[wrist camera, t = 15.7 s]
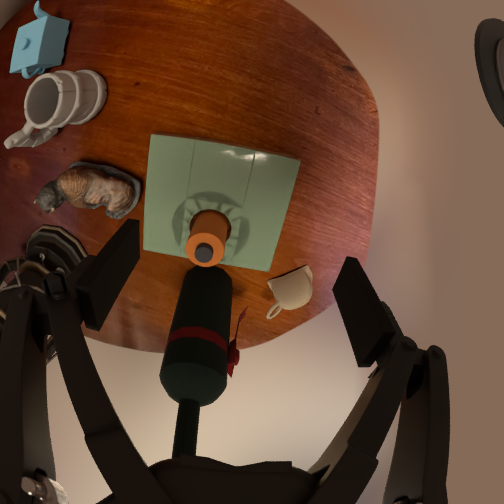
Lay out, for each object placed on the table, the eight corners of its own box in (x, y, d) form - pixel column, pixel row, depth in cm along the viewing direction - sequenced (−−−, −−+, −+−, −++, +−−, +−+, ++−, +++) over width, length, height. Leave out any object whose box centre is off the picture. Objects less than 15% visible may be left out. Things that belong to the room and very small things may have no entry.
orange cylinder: (231, 208, 36) (226, 241, 28) (225, 237, 38) (220, 275, 31) (198, 203, 36) (185, 233, 28) (194, 232, 38) (182, 268, 30)
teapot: (49, 13, 18) (19, 7, 11) (78, 3, 18) (49, -8, 12) (35, 80, 24) (3, 84, 17) (63, 74, 24) (30, 74, 18)
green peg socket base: (297, 157, 33) (301, 160, 30) (267, 263, 41) (268, 272, 38) (157, 132, 30) (151, 134, 28) (148, 242, 38) (143, 250, 36)
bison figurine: (148, 169, 33) (116, 194, 24) (140, 216, 36) (111, 252, 27) (76, 153, 31) (33, 173, 22) (72, 197, 34) (34, 227, 25)
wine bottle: (242, 308, 45) (242, 492, 19) (182, 299, 44) (144, 480, 18) (251, 271, 41) (259, 482, 15) (184, 260, 40) (130, 466, 14)
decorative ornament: (315, 283, 43) (323, 305, 38) (267, 300, 44) (269, 324, 40) (308, 264, 41) (315, 285, 36) (257, 283, 42) (259, 306, 38)
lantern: (110, 247, 39) (11, 414, 13) (103, 312, 46) (45, 450, 20) (22, 208, 34) (-90, 317, 8) (26, 274, 41) (-48, 381, 15)
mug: (119, 93, 27) (66, 95, 17) (68, 153, 30) (14, 179, 20) (91, 59, 24) (35, 53, 14) (43, 120, 27) (-12, 137, 17)
